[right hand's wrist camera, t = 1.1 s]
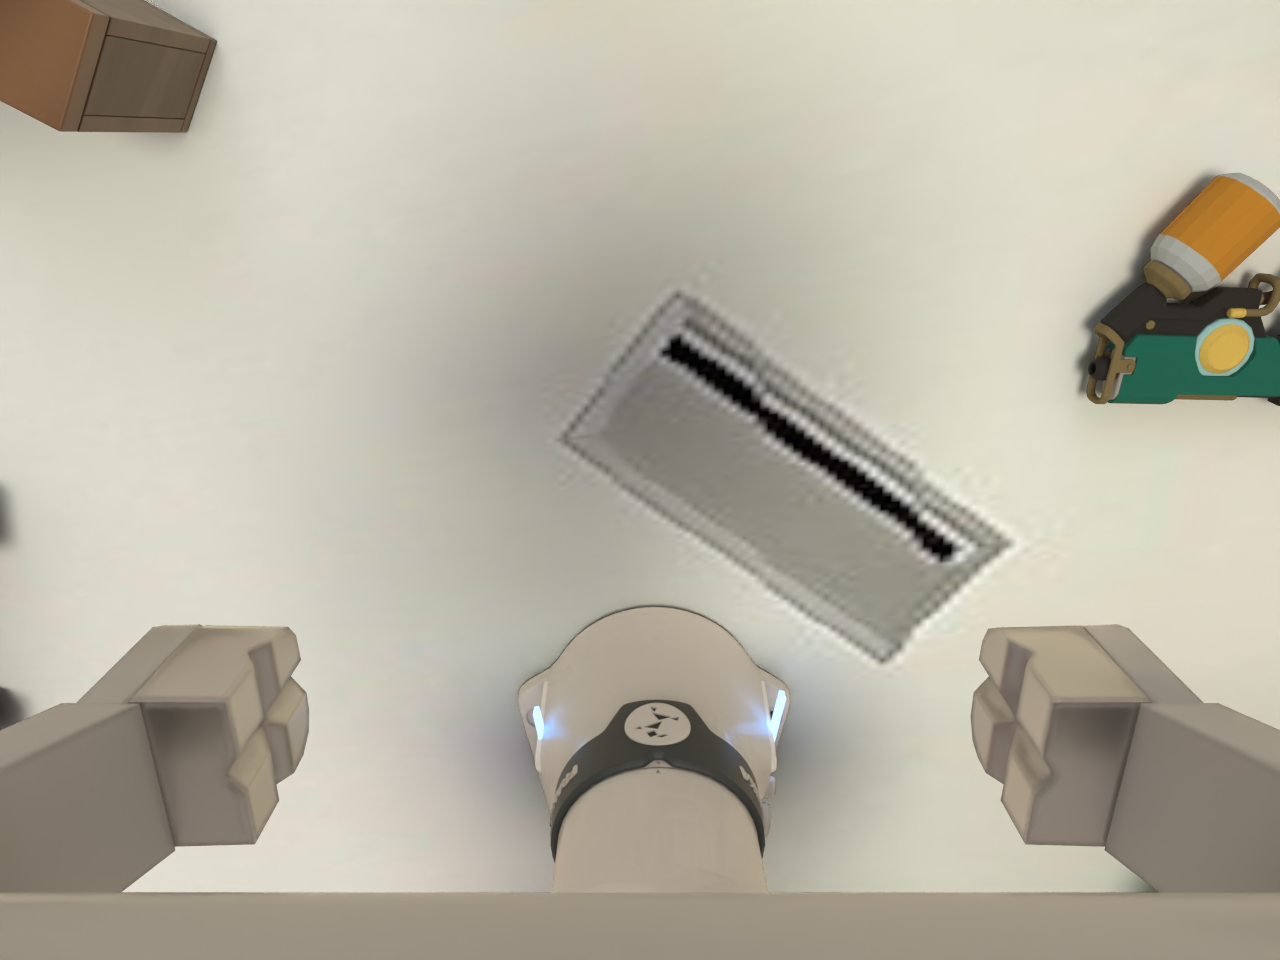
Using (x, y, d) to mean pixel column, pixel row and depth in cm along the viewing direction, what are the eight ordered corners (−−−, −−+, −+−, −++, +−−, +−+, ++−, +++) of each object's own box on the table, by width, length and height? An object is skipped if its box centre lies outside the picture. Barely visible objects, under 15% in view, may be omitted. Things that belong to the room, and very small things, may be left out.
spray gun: (1427, 223, 50) (1274, 454, 56) (1181, 127, 47) (1046, 381, 53) (1496, 236, 46) (1324, 482, 52) (1233, 131, 44) (1082, 404, 49)
